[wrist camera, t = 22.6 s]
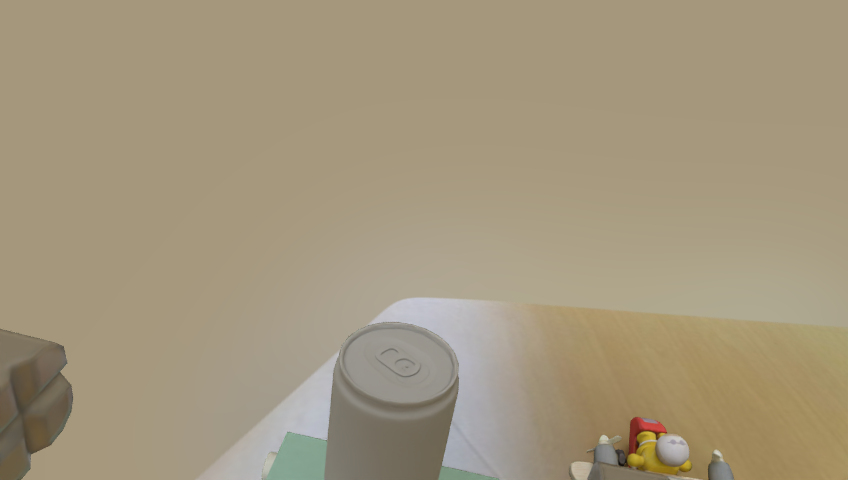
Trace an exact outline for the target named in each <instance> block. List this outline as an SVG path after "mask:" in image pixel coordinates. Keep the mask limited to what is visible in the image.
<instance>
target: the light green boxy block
mask: <svg viewBox="0 0 848 480" xmlns="http://www.w3.org/2000/svg"><path fill="white" fill-rule="evenodd" d="M326 450H327V440H322V439H318V438H313V437H309V436H304V435H300V434H295V433H291V432H287V434H286V436H285V438H284V440H283V443H282V445H281V447H280V449H279V451H278V453H275V452H270V453H269V454H268V456H267V458H266V461H265V464H264V467H263V471H262V480H324V475H325V462H326ZM438 480H499V479H498V478H494V477H489V476H485V475H480V474H476V473H471V472H467V471H462V470H458V469H453V468H448V467H444V466H441V470H440V475H439V479H438Z"/></svg>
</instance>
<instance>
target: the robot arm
mask: <svg viewBox="0 0 848 480" xmlns="http://www.w3.org/2000/svg"><path fill="white" fill-rule="evenodd" d="M66 364H67V359H66V355H65V350H64V347H63V346H62V345H59V344H57V343H55V342H51V341H47V340H43V339H39V338H35V337H31V336H27V335H22V334H19V333H15V332H11V331H7V330H2V329H0V480H21V479H22V478H23V477H24V476H25V474H26V473H27V472H28V471H29V470H30V462H31V461H30V460H31V454H33V453H35V452H37V451H39V450H42V449H43V448H46V447H48V446H50V445H51V444H52V443H53V442H54V440H55V439H56V438H57V437H58V435H59V434H60V433H61V432H62V431H63V429H64V427H65V424H66V422H67V420H68V418H69V416H70V413H71V409H72V402H73V393H72V388H71V384H70V383H69V382H68V381H67V380H66V379H65V377H64V376H63V375H62V374H61V373H60V371H61V370H62V369H63V368H64V366H65V365H66ZM587 480H686V479H681V478H676V477H671V476H664V475H662V474H657V473H652V472H648V471H643V470H638V469H633V468H629V467H624V466H619V465H614V464H609V463H605V462H600V461H597V462H596V463H595V464H594V465H593V466H592V469H591V471H590V473H589V476H588V478H587Z"/></svg>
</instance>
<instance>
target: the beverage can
mask: <svg viewBox="0 0 848 480" xmlns="http://www.w3.org/2000/svg"><path fill="white" fill-rule="evenodd" d="M458 386H459V377H458V361H457V358H456V355H455V353H454V351H453V350H452V349H451V347H450V346H449V344H448V343H446V342H445V341H444V340H443V339H442V338H441V337H439V336H438V335H436V334H434V333H433V332H431V331H429V330H427V329H425V328H422V327H419V326H416V325H413V324H406V323H400V322H383V323H377V324H372V325H368V326H366V327H363V328H361V329H358V330H357V331H356V332H354V333H353V334H351V335H350V336H349V337H348V338H347V339H346V341H345V342H344V343H343V345H342V347H341V350H340V354H339V357H338V358H337V361H336V365H335V368H334V373H333V384H332V395H331V406H330V417H329V428H328V439H327V450H326V462H325V475H324V480H438V479H439V475H440V470H441V466H442V461H443V457H444V453H445V448H446V444H447V439H448V435H449V430H450V426H451V421H452V417H453V412H454V408H455V403H456V399H457V394H458Z"/></svg>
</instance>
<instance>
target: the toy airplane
mask: <svg viewBox="0 0 848 480" xmlns="http://www.w3.org/2000/svg"><path fill="white" fill-rule="evenodd" d="M620 440H621V437H620V436H618V435H617V436H615V437H613V438H612V439H610V440H609V439H608V437H607V436H606V435H602V436H601V437H600V439H599V443H598V446H596V447H595V448H593V449H590V450H587V451H586V453H588V452H592V451H594V463H591V462H582V461H575V462H573V463H572V464H571V465H570V467H569V475H570V477H571V479H572V480H587V478H588V476H589V473H590V471H591V469H592V466H593V465H594V464H595V463H596V462H597V461H600V462H605V463H609V464H614V465H619V466H624V465H625V463H628V466H629V468H633V469H638V470H643V471H648V472H652V473H657V474H662V475H664V476H671V477H676V478H681V479H686V480H702V479H695V478H689V477H682V476H677V473H678V470H680V471H682V472H688V471H690V470H691V469H692V464H691V462H690V461H689V460H688V457H689V447H688V444H687V443H686V441H685V440H684V439H683V438H682V437H680V436H679V435H676V434H671V433H669V434H667V431H666V429H665V427H664V426H663V425H662V424H661V423H660V422H658V421H656V420H652V419H647V418H639V417H635V418H633V419H632V420H631V423H630V437H629V453H628V457H627V460H626V458H625V454H624V452H623V450H619V449H618V450H616V451H615V449H614V447H613V445H612V444H614V443H616V442H618V441H620ZM712 458H713V459H712V460H711V463H710V464H709V466H708V477H709V480H734V477H733V474H732V471H731V468H730V466H729V464H728V463H725V462H724V460H723V459H722V454H721V453H720V451H718V450H714V451H713V453H712Z"/></svg>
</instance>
